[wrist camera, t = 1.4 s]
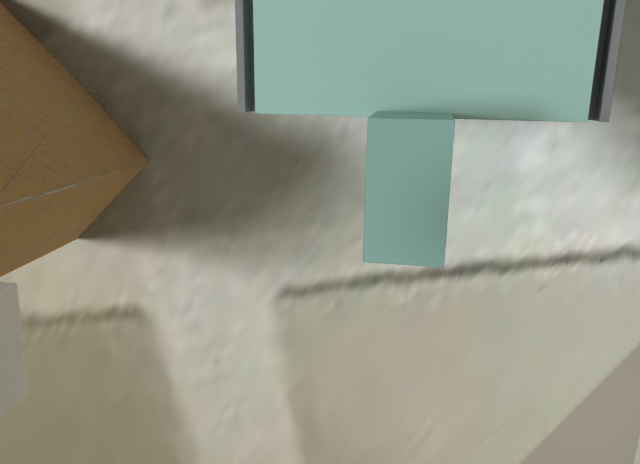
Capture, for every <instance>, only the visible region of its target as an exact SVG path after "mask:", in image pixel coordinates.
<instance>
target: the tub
mask: <svg viewBox="0 0 640 464" xmlns="http://www.w3.org/2000/svg"><path fill="white" fill-rule="evenodd" d="M625 6H626V0H604V3H603V10H602V18H601V25H600V32H599V40H598V47H597V55H596V62H595V69H594V77H593V84H592V91H591V99H590V106H589V114H588V120H595V121H599V122H609V116H610V109H611V102H612V96H613V89H614V82H615V75H616V68H617V61H618V54H619V47H620V41H621V34H622V27H623V20H624V13H625ZM235 14H236V52H237V90H238V112H241V113H246V112H250V111H255V82H254V28H253V0H235Z"/></svg>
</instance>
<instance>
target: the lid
mask: <svg viewBox="0 0 640 464" xmlns="http://www.w3.org/2000/svg"><path fill="white" fill-rule="evenodd" d="M603 3H604V0H253V28H254V82H255V113H257V114H295V115H333V116H370V117H369V118H368V128H367V158H366V187H365V217H364V247H363V262H369V263H384V264H398V265H413V266H427V267H442V268H444V261H445V247H446V234H447V220H448V207H449V193H450V180H451V166H452V153H453V139H454V126H455V120H454V119H485V120H523V121H561V122H587V121H588V114H589V106H590V99H591V91H592V84H593V77H594V69H595V62H596V55H597V47H598V40H599V32H600V25H601V18H602V10H603Z"/></svg>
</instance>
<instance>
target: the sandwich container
mask: <svg viewBox="0 0 640 464" xmlns="http://www.w3.org/2000/svg"><path fill="white" fill-rule="evenodd" d="M147 163H148V160H147V158H146V156H145V155H144V154H143V153H142V152H141V151H140V150H139V149H138V147H137V146H136V145H135V144H134V143H133V142H132V141H131V140H130V138H129V137H128V136H127V135H126V134H125V133H124V132H123V131H122V130H121V128H120V127H119V126H118V125H117V124H116V123H115V122H114V121H113V119H112V118H111V117H110V116H109V115H108V114H107V113H106V112H105V110H104V109H103V108H102V107H101V106H100V105H99V104H98V103H97V101H96V100H95V99H94V98H93V97H92V96H91V95H90V94H89V93H88V91H87V90H86V89H85V88H84V87H83V86H82V85H81V84H80V83H79V82H78V81H77V80H76V79H75V78H74V77H73V76H72V75H71V74H70V73H69V72H68V71H67V70H66V69H65V68H64V67H63V66H62V65H61V64H60V63H59V62H58V61H57V60H56V59H55V58H54V57H53V56H52V55H51V53H50V52H49V51H48V50H47V49H46V48H45V47H44V46H43V45H42V44H41V43H40V42H39V41H38V40H37V39H36V38H35V37H34V36H33V35H32V34H31V33H30V32H29V31H28V30H27V29H26V28H25V27H24V26H23V25H22V24H21V23H20V22H19V21H18V20H17V19H16V18H15V17H14V16H13V15H12V14H11V13H10V12H9V11H8V10H7V9H6V8H5V7H4V6H3V4H2V3H1V2H0V277H1V276H3V275H5V274H7V273H9V272H11V271H13V270H15V269H17V268H19V267H21V266H23V265H25V264H27V263H29V262H31V261H33V260H35V259H37V258H40V257H42V256H44V255H46V254H48V253H50V252H52V251H54V250H56V249H58V248H60V247H62V246H64V245H66V244H68V243H70V242H72V241H74V240H76V239H78V238H79V236H80V235H81V234H82V233H83V232H84V231H85V230H86V229H87V228H88V227H89V226H90V225H91V224H92V223H93V221H94V220H95V219H96V218H97V217H98V216H99V215H100V214H101V213H102V212H103V211H104V210H105V209H106V208H107V207H108V205H109V204H110V203H111V202H112V201H113V200H114V199H115V198H116V197H117V196H118V195H119V194H120V193H121V191H122V190H123V189H124V188H125V187H126V186H127V185H128V184H129V183H130V182H131V181H132V180H133V178H134V177H135V176H136V175H137V174H138V173H139V172H140V171H141V170H142V169H143V168H144V167H145V165H146V164H147Z"/></svg>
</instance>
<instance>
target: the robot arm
mask: <svg viewBox="0 0 640 464" xmlns="http://www.w3.org/2000/svg"><path fill="white" fill-rule="evenodd" d="M28 394H29V393H28V384H27V375H26V365H25V356H24V347H23V338H22V328H21V319H20V310H19V301H18V291H17V284H16V283H7V282H0V416H2V415H3V414H4V413H5V412H7V411H8V410H9V409H10V408H12V407H13V406H14V405H15V404H17V403H18V402H19V401H20V400H22V399H23V398H24V397H25V396H27V395H28ZM634 464H640V438H639V442H638V447H637V451H636V456H635V460H634Z"/></svg>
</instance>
